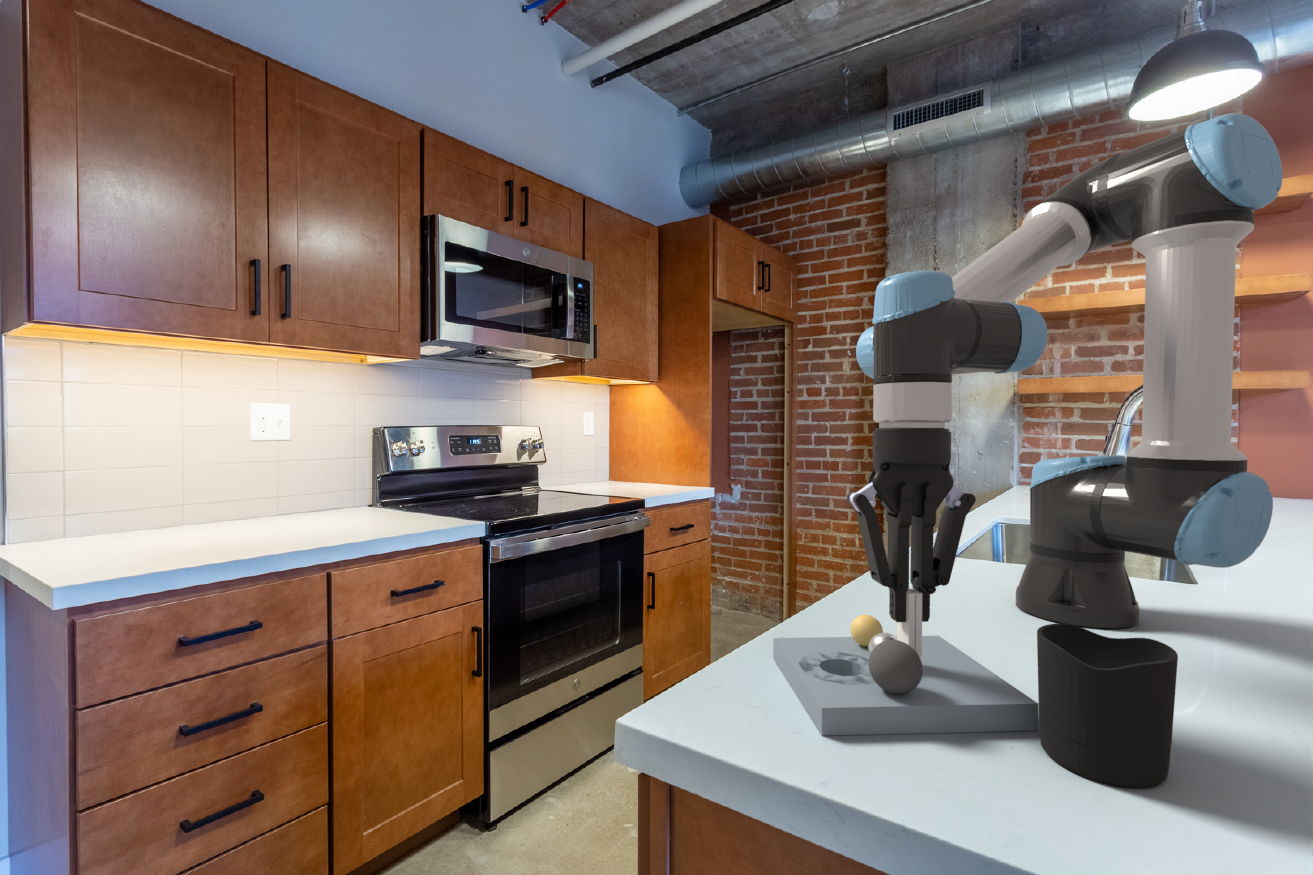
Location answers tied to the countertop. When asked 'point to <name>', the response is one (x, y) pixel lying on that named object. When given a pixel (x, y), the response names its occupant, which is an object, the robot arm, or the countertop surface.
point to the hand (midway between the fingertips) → (908, 651)
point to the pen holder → (1106, 704)
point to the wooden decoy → (865, 629)
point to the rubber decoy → (895, 667)
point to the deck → (941, 702)
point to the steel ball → (880, 640)
